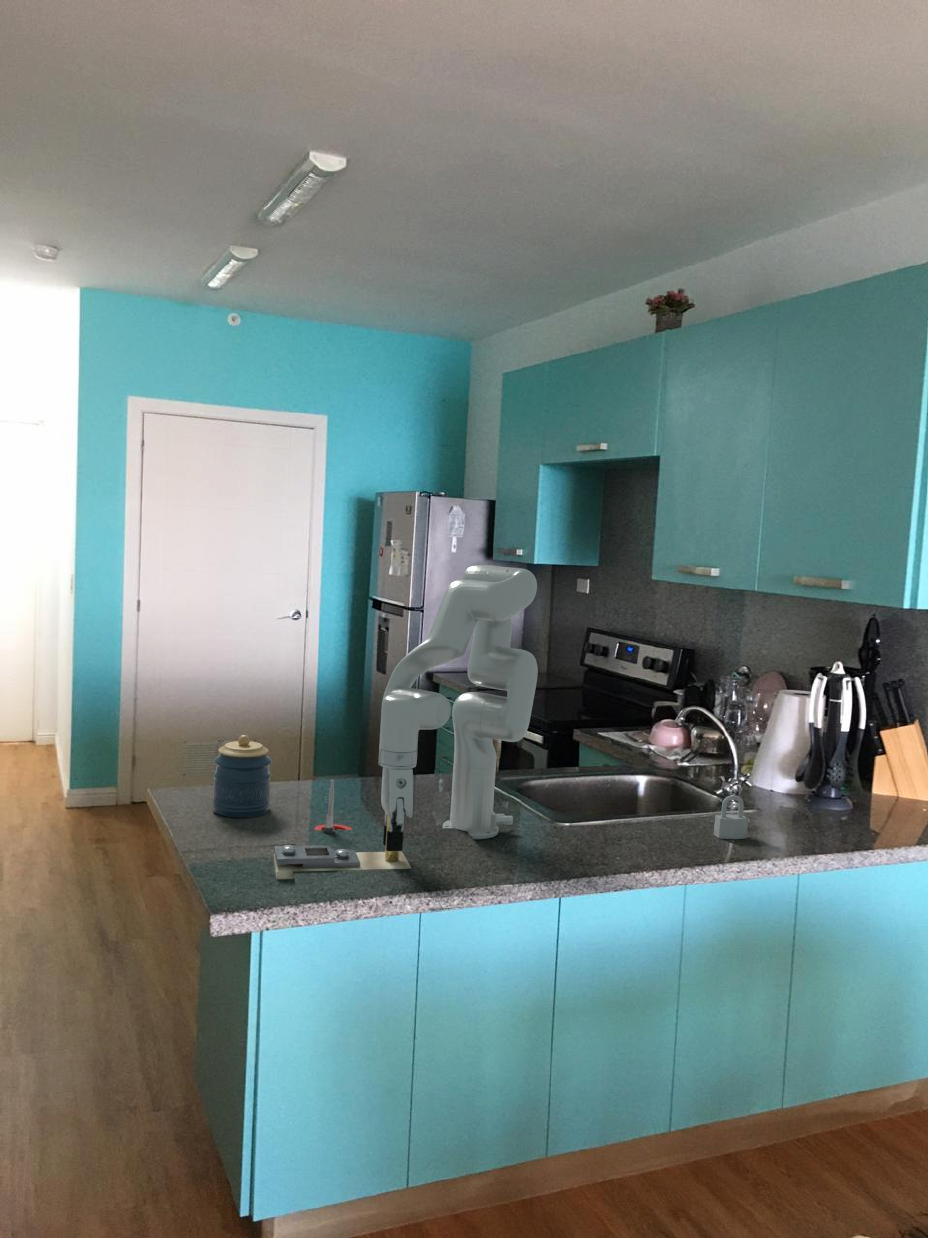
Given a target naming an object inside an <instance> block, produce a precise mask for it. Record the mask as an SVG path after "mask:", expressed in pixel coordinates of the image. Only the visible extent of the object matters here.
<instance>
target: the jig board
mask: <svg viewBox="0 0 928 1238" xmlns="http://www.w3.org/2000/svg"><path fill="white" fill-rule="evenodd" d="M355 852H356V851H355ZM356 854H357V856H358V859H359V861H360V867H358V868H316V869H303V867H302V864H277V863H276V858H275V853H273V855H272V856H273V857H272V859H273V860H272V862H273V867H274V873H275V877H276V880H294V879H295V875H294V872H321V871H322V872H323V871H324V872H326V871H328V872H329V871H364V870H368V871H369V870H370V871H371V870H402V869H403V870H408V869H410V870H411V869H412V867H411V865H410V863H409V861H408V859H407V857H406V856H405V854H404V853H403V850H402V851H399V861H398V862H387V861H385V851H363V852H362V851H361V852H359V851H358V852H356Z"/></svg>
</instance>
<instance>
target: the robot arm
mask: <svg viewBox="0 0 928 1238" xmlns="http://www.w3.org/2000/svg"><path fill="white" fill-rule="evenodd" d="M537 590H538V581H537V579H536V576H535V575H534V574H533V573H532V572H531V571H530V570H528V569H526V568H520V567H507V566H499V565H490V564H476V565H475V564H474V565H472V566H471V565H470V566H469V567H467V568H466V569H465V570H464V571H463V576H462V579H456V580H455V581H452V582H451V583H450V584H449V585H448V586H447V588H446V589H445V591H444V594H443V597H442V599H441V601H440V604H439V607H438V610H437V612H436V613H435V617H434V620H433V623H432V624H431V627H430V629H429V632H428V635H427V637H426V638H425V640H424V641H423V642H421V643H420V644H418V645H416V647H414V648H413V649H412V650H411V651H410V652H409V653H407V654H406V655H405V656H404V657H403V658H401V660H400V661H399V662H398V663H397V664H396V666H395V667H394V669H393V671H392V673H391V675H390V677H389V680H388V682H387V684H386V687H385V690H384V693H383V695H382V702H381V711H380V713H381V714H380V727H379V729H380V731H379V747H378V750H379V751H378V766H380V767H382V779H381V790H380V791H381V793H380V794H381V795H380V798H381V799H380V801H381V802H380V803H381V806H382V809H383V811H384V825H383V837H382V844H383V846H385V849H386V850H387V851H399V852H401V851H402V852H403V847H404V826H405V825H404V824H405V823H404V822H405V821H404V820H405V816H406V817H407V818H408V819H411V818H412V817H413V811H414V809H413V808H414V773H413V771H414V770H413V768H416V766H417V762H418V761H417V760H418V743H419V742H418V741H419V732H420V730H437V729H440V728H442V727H443V726H444V725H445V724H447V723H448V721H449V719H450V717H452V727H453V734H454V750H453V751H454V753H453V768H452V782H451V784H452V785H451V799H450V801H451V802H450V815H449V820H446V821H444V822H443V823H442V829H456V830H459V831H464V832H467V833H468V834H469V836H470V837H471V839H472V840H485V839H486V840H487V839H490V838H494V837H496V836H497V835H498V834H499V826H500V825H513V824H514V816H513V815H505V813H496V812H495V811H494V801H495V800H494V799H495V798H494V797H495V785H496V769H497V752H496V748H495V746H494V743H493V741H492V740H498V741H504V742H509V743H510V742H511V743H516V742H519V741H521V740H522V739H524V737H525V736H526V734H527V731H528V729H529V725H530V722H531V716H532V710H533V705H534V699H535V694H536V687H537V681H538V675H539V674H538V671H539V670H538V669H539V667H538V662H537V659H536V657H535V656H534V654H532V653H531V652H529V651H528V650H525V649H521V648H513V647H511V641H512V635H513V628H514V627H513V622H512V619H511V618H512V617H513V616H515V615H517V614H518V613H521V612H522V611H523V610H525V609H526V608H528V606H530V605H531V604H532V603H533V601H534V599H535V598H536V594H537ZM472 635H473V636H472ZM471 637H472V642H471V647H470V652H469V658H468V663H467V678H468V680H469V682H471V683H472V684H473V685H476V686H479V687H482V688H483V687H484V688H487V689H494V690H499V691H505V692H506V693H507V694H506V696H501V695H496V694H492V693H491V694H490V693H486V692H485V693H484V692H478V691H476V692H475V691H469V692H468V691H467V692H465V693H462V694H460V695H458V697H457V698H456V699H455V701H454V703H453V705H452V706H451V703H450V701H449V699H448V698H447V697H446V696H445V695H443V694H442V693H438V692H435V691H429V690H424V689H420V688H412V686H413V685H414V684H415V682H416V680H417V679H418V678H419V677H420V676H421V675H422V674H424V673H425V672H427V671H429V670H431V669H433V668H437V667H439V666H442V665H444V664H447V663H450V662H453V661H454V662H455V661H456V660H459V659H461V658H462V657H463V656H464V655H465V653H466V651H467V648H468V645H469V643H470V640H471ZM451 713H452V714H451ZM392 813H396V815H393V814H392ZM387 816H388V817H389V831H387ZM393 820H396V821H394V822H393ZM386 831H387V841H386Z"/></svg>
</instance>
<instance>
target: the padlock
mask: <svg viewBox="0 0 928 1238" xmlns="http://www.w3.org/2000/svg"><path fill="white" fill-rule="evenodd" d="M730 801H736V802H738V810H737V811H738V812H737V814H732V813H731V814H728V813H727V810H728V809H727V808H728V803H729V802H730ZM744 806H745V805H744V800H743V798H742V797H740V796H738V795H735V794H733V795H728V796H726V797H725V798H724V799H723V801H722V804H721V812H720V813H721V814H715V817H714V825H713V835H714V836H715V837H716V838H717V839H719V840H720V839H722V840H723V839H725V840H741V839H742V840H745V839H747V837H748V828H749V827H748V825H749V818H748V817H746V816H745V815H744V808H745V807H744Z"/></svg>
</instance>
